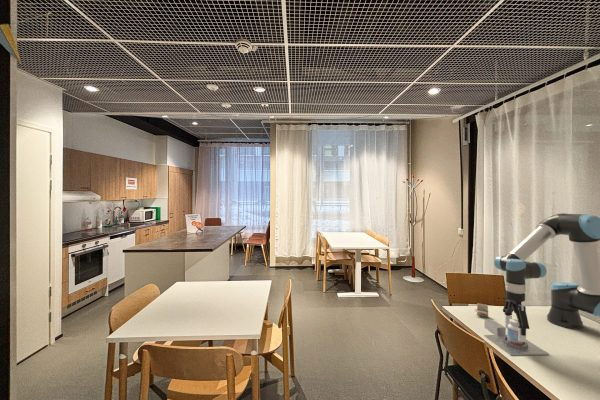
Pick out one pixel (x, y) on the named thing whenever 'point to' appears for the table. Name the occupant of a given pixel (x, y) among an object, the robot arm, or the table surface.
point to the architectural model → (482, 309)
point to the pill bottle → (513, 332)
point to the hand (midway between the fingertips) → (514, 334)
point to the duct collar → (508, 347)
